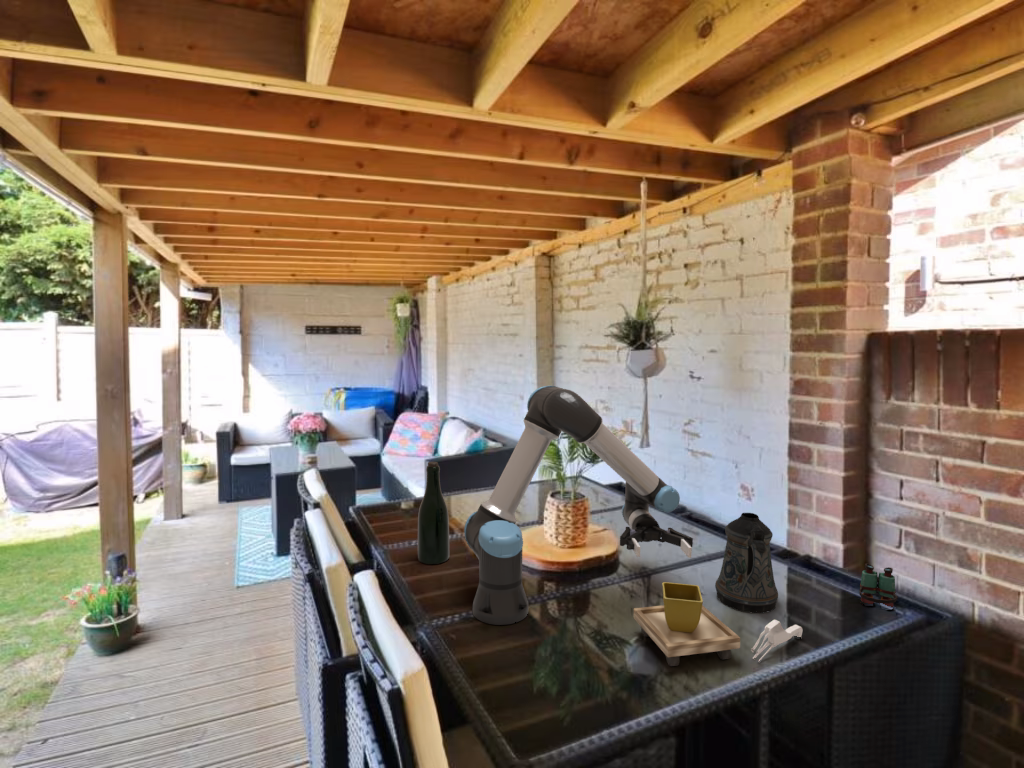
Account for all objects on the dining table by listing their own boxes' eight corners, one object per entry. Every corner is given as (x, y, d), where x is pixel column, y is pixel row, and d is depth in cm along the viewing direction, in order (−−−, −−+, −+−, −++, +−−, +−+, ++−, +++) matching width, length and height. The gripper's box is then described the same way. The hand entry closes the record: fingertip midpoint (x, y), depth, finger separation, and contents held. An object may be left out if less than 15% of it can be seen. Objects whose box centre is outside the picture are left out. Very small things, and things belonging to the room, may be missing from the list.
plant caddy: (667, 672, 125) (668, 646, 125) (633, 631, 143) (633, 608, 142) (739, 662, 129) (740, 637, 128) (697, 623, 146) (698, 601, 146)
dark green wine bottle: (428, 568, 181) (427, 467, 178) (412, 558, 189) (411, 461, 186) (455, 560, 188) (455, 462, 185) (438, 550, 196) (438, 457, 193)
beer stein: (746, 583, 171) (750, 503, 169) (800, 612, 153) (804, 523, 151) (702, 592, 165) (705, 508, 163) (753, 623, 147) (756, 530, 145)
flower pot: (701, 639, 130) (703, 601, 129) (662, 634, 131) (663, 597, 131) (697, 620, 138) (698, 585, 137) (661, 616, 140) (662, 581, 139)
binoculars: (860, 575, 154) (860, 559, 162) (858, 610, 156) (858, 593, 164) (900, 582, 149) (897, 566, 158) (897, 618, 151) (895, 600, 160)
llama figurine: (765, 685, 131) (804, 635, 140) (755, 647, 128) (797, 599, 136) (757, 681, 132) (797, 632, 141) (748, 644, 129) (789, 596, 138)
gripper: (684, 538, 170) (710, 566, 149) (602, 537, 169) (616, 565, 148) (685, 514, 169) (712, 539, 148) (603, 512, 169) (617, 537, 147)
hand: (664, 552), depth 148 cm, fingers open, 13 cm apart
